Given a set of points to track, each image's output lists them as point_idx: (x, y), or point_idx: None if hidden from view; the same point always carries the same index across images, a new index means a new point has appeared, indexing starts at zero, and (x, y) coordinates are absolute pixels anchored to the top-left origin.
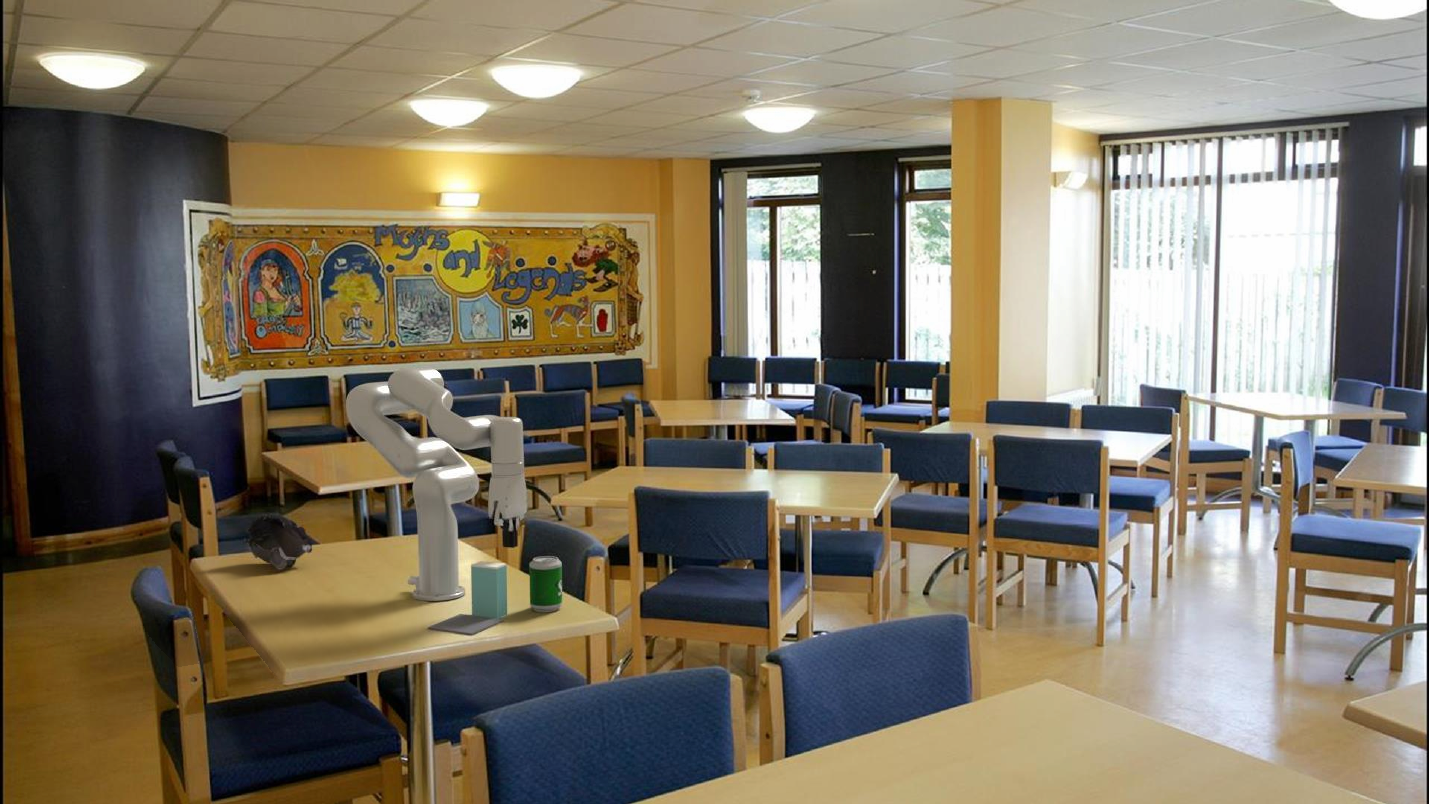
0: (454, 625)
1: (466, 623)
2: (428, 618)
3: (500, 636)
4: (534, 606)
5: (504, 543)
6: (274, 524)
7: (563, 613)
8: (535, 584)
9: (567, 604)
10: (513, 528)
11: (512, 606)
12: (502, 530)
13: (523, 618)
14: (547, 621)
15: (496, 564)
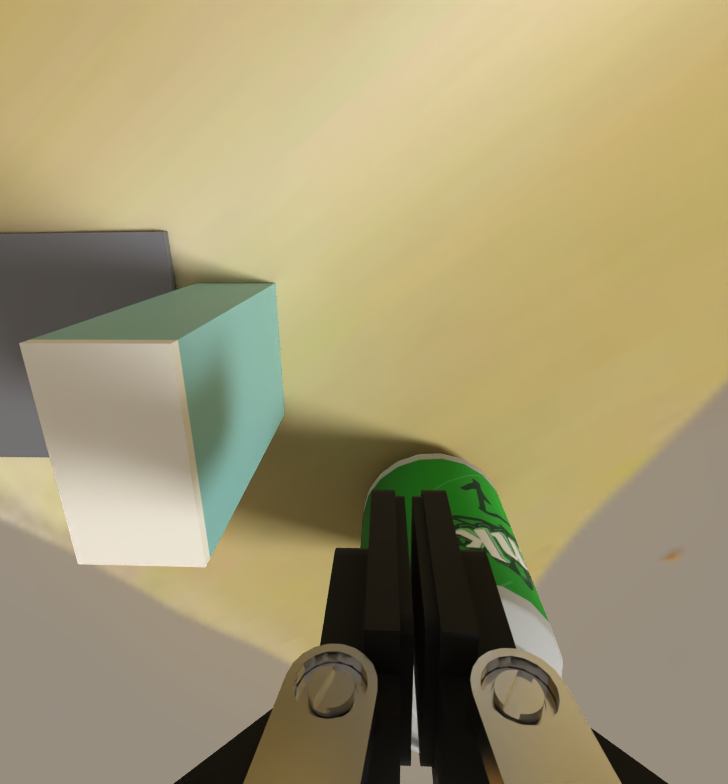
0: (16, 329)
1: None
2: (40, 108)
3: (53, 539)
4: (366, 501)
5: (335, 552)
6: None
7: None
8: None
9: (522, 539)
10: (444, 782)
11: (408, 359)
12: (309, 670)
13: (272, 495)
14: (282, 582)
15: (146, 519)
